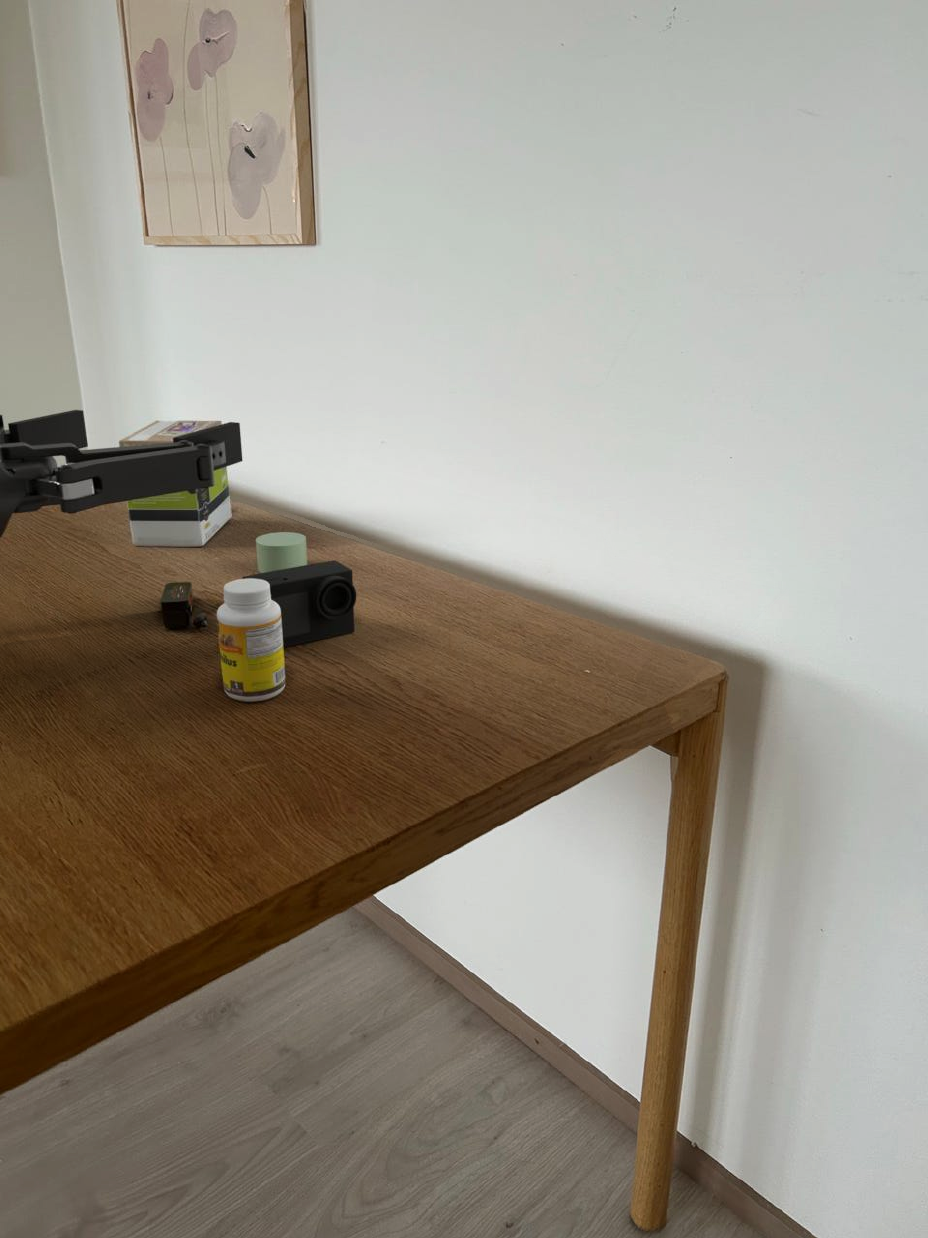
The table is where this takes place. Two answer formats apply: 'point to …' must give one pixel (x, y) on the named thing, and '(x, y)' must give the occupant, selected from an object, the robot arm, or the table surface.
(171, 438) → the tea box
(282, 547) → the pale green cylinder
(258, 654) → the supplement bottle
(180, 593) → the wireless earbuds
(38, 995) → the table surface
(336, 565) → the digital camera
